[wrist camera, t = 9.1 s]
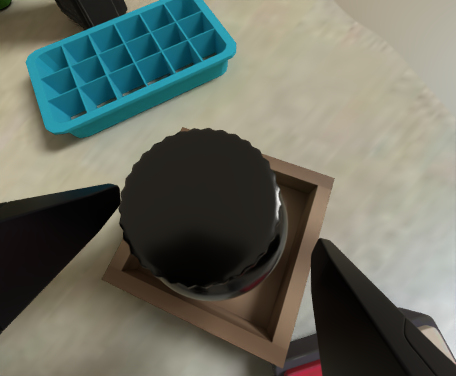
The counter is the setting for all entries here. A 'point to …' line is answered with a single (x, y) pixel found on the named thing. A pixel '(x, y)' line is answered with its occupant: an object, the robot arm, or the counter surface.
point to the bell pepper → (4, 3)
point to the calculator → (310, 359)
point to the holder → (259, 296)
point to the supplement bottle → (204, 214)
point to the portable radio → (92, 11)
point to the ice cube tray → (127, 65)
